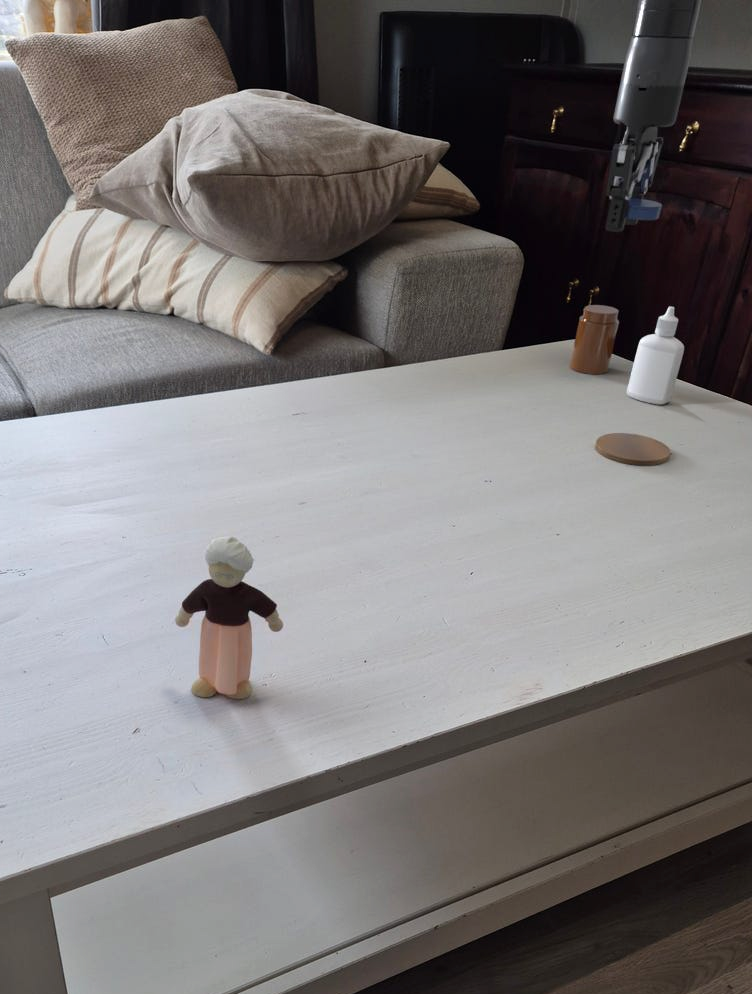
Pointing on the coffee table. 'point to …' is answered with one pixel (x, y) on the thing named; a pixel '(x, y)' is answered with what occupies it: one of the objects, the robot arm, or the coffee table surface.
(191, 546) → the coffee table surface
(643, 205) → the lid
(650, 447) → the coaster
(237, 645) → the grandmother figurine
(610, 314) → the jar
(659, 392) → the eye dropper bottle
